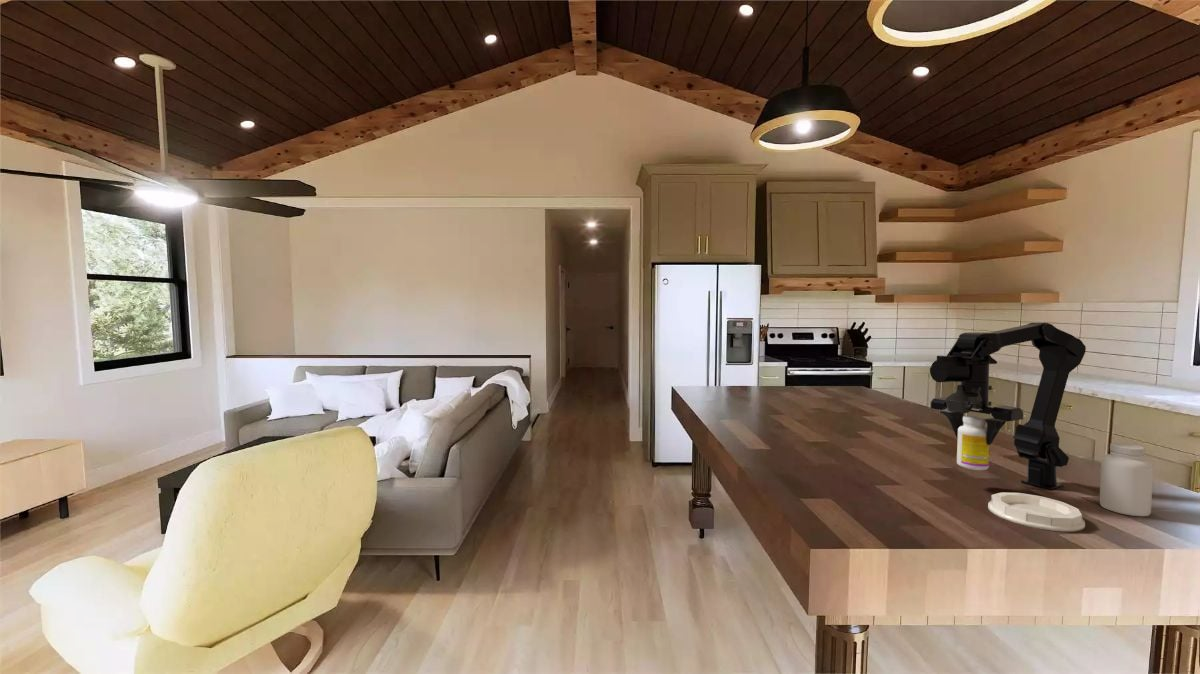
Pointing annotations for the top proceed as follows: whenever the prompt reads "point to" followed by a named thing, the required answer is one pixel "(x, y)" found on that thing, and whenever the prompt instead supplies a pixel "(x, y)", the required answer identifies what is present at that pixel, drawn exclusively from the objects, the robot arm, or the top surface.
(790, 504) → the top surface
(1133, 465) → the pill bottle
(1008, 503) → the tray
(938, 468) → the top surface
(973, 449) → the supplement bottle
